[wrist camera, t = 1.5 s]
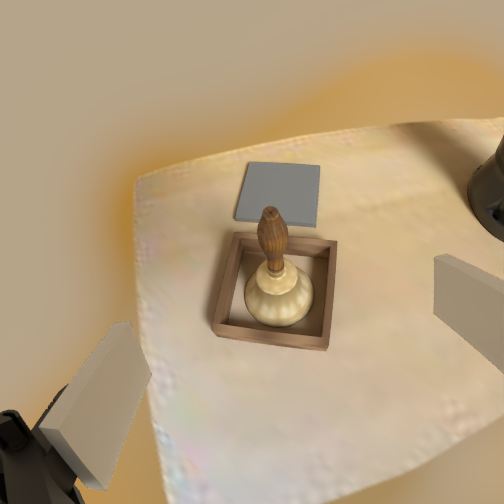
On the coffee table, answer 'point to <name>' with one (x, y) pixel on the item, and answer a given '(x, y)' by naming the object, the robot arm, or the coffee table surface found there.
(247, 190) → the grey rubber pad
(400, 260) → the coffee table surface
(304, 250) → the brown wooden square frame
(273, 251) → the hand bell
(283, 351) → the coffee table surface
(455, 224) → the coffee table surface
